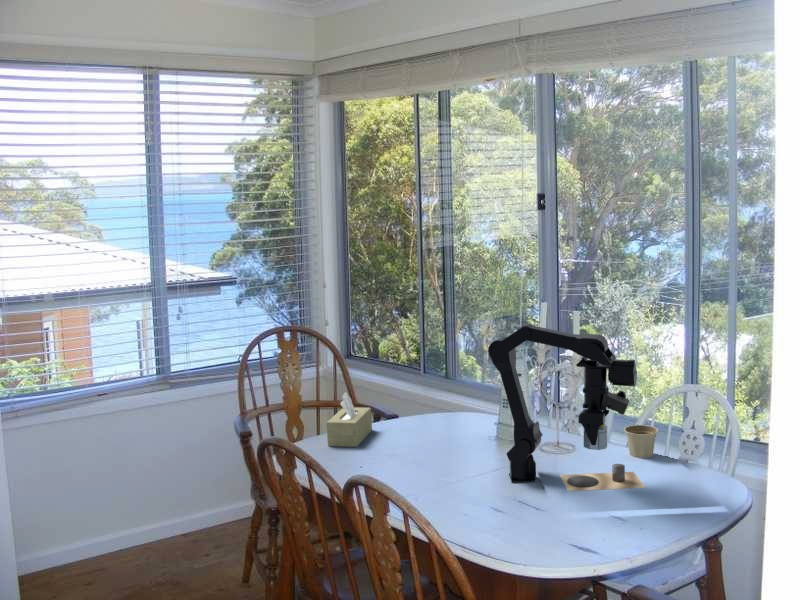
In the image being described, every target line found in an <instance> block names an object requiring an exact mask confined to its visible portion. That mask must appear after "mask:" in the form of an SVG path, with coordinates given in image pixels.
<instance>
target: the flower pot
mask: <svg viewBox="0 0 800 600" xmlns="http://www.w3.org/2000/svg"><path fill="white" fill-rule="evenodd" d="M623 431H624V432H625V435H626V436H625V437H626V438H627V444H628V451H629V456H631V457H633V458H638V459H648V458H652V457H653V456H654V455H653V454H654V448H655V442H656V438H657V434H658V433H659V429H658V428H657V427H655V426H651V425H646V424H645V425H644V424H634V425H633V424H632V425H627V426H625V427H624V429H623Z"/></svg>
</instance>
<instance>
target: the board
mask: <svg viewBox="0 0 800 600" xmlns="http://www.w3.org/2000/svg"><path fill="white" fill-rule="evenodd" d="M611 466H612V467H611V470H612V471H611V472H597V473H595V472H594V473H579V474H578V473H577V474H576V473H574V474H572V473H571V474H559V477H560V478H561V481H562V482H563V484H564V486H565V488H566V489H567V492H577V491H579V492H580V491H600V490H602V491H603V490H604V491H605V490H622V489H623V490H624V489H643V488H644V489H645V488H646V486H645V484H644V483H643V482H642V481H641V479H640V478H639V477H638V475H636V473H635V472H634V471H626V469H625V467H626V466H625V464H621V463H613V464H612V465H611Z"/></svg>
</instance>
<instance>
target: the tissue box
mask: <svg viewBox="0 0 800 600" xmlns="http://www.w3.org/2000/svg"><path fill="white" fill-rule="evenodd" d="M341 398H342V401H341V402H339V404H340V406H341V407H342V408H341V409H340V410H339V411H337V413H335V414H334V415H333V416H332V417H331V418H330V419H328V421H326V424H325V425H326V436H327V437H326V438H327V440H326V441H327V446H328V447H345V448H346V447H348V448H349V447H350V448H351V447H353V448H357V447H358V446H359V445H360V444H361V443H362V442H363V441H364V440H365V438H366V437H368V435H369V434H370V433H371V432H372V431H373V423H372V408H371V407H355V406H354V404H353V401H352V398H351V397H350V395H349V393H347V391H345V392H344V393H343V394H342V397H341Z"/></svg>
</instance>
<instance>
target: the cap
mask: <svg viewBox="0 0 800 600" xmlns="http://www.w3.org/2000/svg"><path fill="white" fill-rule="evenodd" d="M607 447H608V425H607V424H606V423H604V424H603V425H602V426H600V427H599V431H598V436H597V441H596V445H591V443H590V441H589V438H588V436H587V434H586V432H585V430H584V429H583V448H585V449H587V450H595V451H600V450H606V449H607Z"/></svg>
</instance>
